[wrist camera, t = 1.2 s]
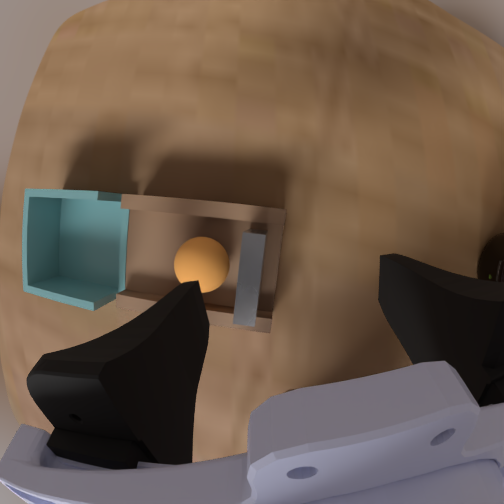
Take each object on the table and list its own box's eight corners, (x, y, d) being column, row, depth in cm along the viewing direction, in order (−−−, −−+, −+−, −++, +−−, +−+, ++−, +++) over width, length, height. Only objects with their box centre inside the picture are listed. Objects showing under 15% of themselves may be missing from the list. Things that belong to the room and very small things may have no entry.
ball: (235, 238, 21) (227, 242, 17) (230, 288, 21) (221, 303, 18) (185, 232, 21) (168, 235, 17) (181, 281, 21) (164, 294, 18)
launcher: (284, 210, 22) (286, 209, 19) (270, 316, 23) (270, 333, 20) (142, 196, 23) (121, 193, 19) (135, 295, 24) (116, 307, 20)
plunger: (267, 230, 20) (265, 234, 16) (258, 304, 21) (254, 326, 16) (249, 228, 20) (242, 232, 16) (241, 301, 21) (232, 323, 16)
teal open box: (137, 195, 23) (105, 191, 18) (131, 294, 24) (100, 312, 19) (61, 191, 23) (25, 188, 18) (58, 279, 24) (23, 291, 19)
